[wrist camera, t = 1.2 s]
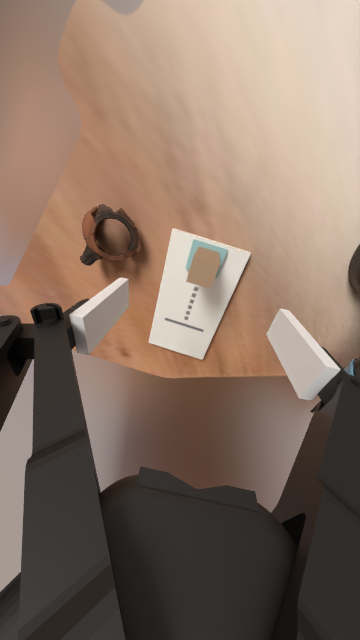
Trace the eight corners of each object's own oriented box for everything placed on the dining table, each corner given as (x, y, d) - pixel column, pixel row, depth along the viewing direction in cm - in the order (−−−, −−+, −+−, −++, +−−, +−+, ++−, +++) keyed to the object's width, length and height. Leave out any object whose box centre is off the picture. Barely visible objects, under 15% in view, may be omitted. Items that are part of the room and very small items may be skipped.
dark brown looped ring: (101, 188, 31) (101, 189, 24) (144, 228, 36) (153, 237, 30) (66, 244, 33) (58, 257, 27) (111, 272, 39) (113, 289, 33)
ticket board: (249, 251, 31) (251, 253, 30) (202, 355, 44) (202, 360, 43) (174, 228, 31) (172, 228, 30) (150, 339, 45) (148, 342, 43)
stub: (227, 249, 30) (232, 260, 21) (216, 277, 32) (217, 296, 24) (193, 239, 30) (185, 246, 22) (185, 267, 32) (176, 283, 24)
